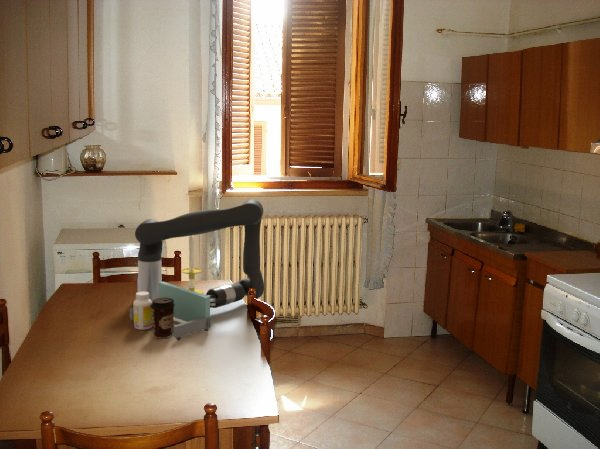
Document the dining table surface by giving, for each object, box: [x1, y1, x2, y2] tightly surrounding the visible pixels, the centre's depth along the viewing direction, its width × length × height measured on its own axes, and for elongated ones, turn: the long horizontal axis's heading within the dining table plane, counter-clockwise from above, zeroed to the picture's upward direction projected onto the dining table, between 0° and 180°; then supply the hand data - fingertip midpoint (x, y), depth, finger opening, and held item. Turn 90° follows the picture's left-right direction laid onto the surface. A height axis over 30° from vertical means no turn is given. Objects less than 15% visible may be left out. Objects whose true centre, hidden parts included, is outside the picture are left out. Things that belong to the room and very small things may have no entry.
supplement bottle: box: [132, 291, 153, 331], centre depth 247 cm, size 7×7×13 cm
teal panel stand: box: [129, 281, 211, 341], centre depth 247 cm, size 28×15×13 cm, turn 48°
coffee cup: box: [150, 297, 175, 339], centre depth 239 cm, size 9×8×13 cm
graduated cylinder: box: [181, 235, 204, 294], centre depth 289 cm, size 10×10×27 cm
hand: (185, 305), depth 253 cm, fingers closed
